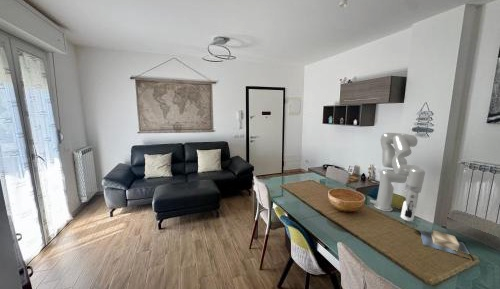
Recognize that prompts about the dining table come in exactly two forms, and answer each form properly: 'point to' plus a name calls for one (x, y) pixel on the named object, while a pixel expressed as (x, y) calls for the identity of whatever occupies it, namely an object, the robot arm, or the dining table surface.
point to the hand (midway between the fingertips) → (407, 214)
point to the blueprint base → (430, 243)
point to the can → (405, 211)
